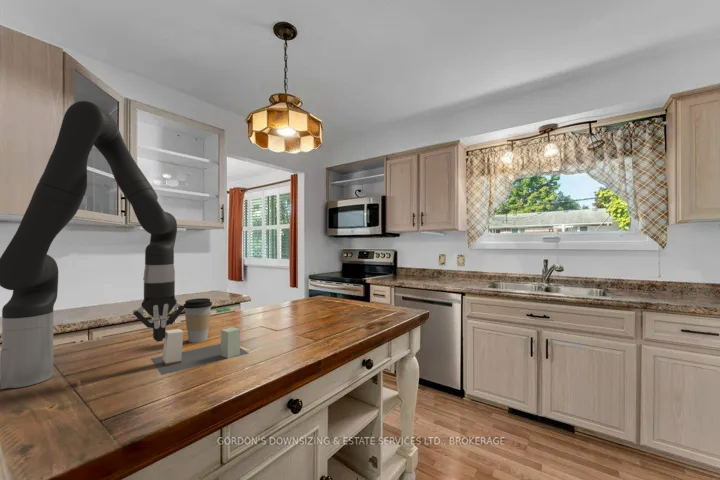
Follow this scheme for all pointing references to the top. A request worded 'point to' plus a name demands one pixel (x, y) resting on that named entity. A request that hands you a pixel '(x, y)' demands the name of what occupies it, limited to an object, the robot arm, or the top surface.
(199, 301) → the coffee cup
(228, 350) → the sage block
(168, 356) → the cream block
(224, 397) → the top surface
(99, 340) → the top surface
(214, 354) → the mat
